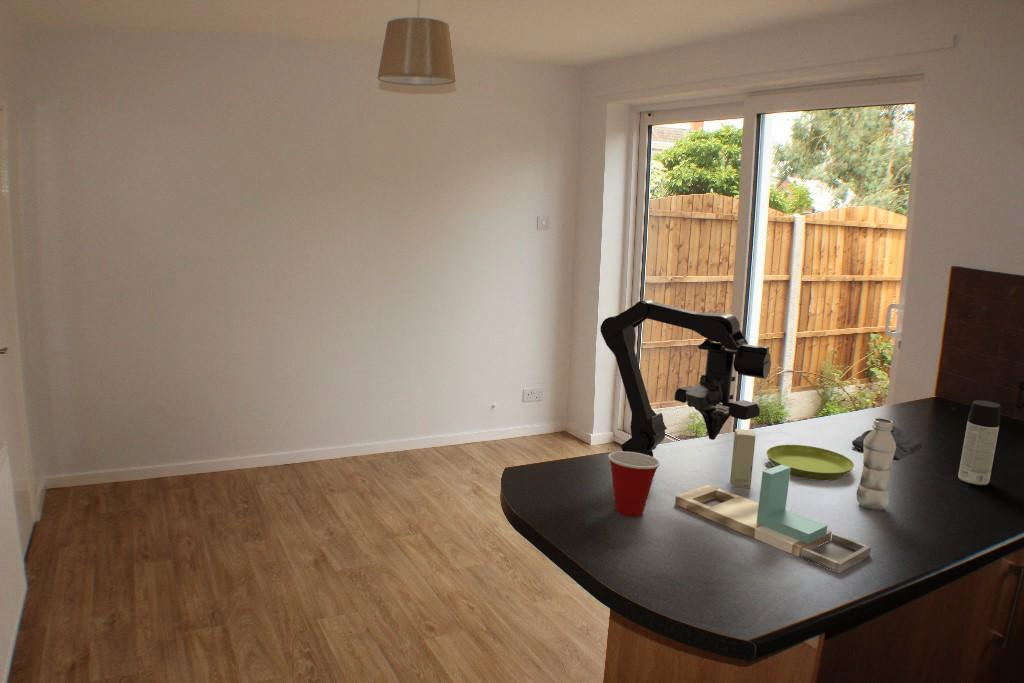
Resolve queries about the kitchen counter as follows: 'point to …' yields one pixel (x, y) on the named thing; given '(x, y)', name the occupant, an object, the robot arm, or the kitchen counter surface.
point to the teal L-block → (784, 508)
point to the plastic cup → (631, 480)
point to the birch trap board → (744, 518)
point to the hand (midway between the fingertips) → (712, 439)
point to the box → (742, 458)
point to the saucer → (810, 461)
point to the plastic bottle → (877, 466)
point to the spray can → (980, 442)
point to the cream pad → (775, 538)
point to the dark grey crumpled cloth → (902, 439)
